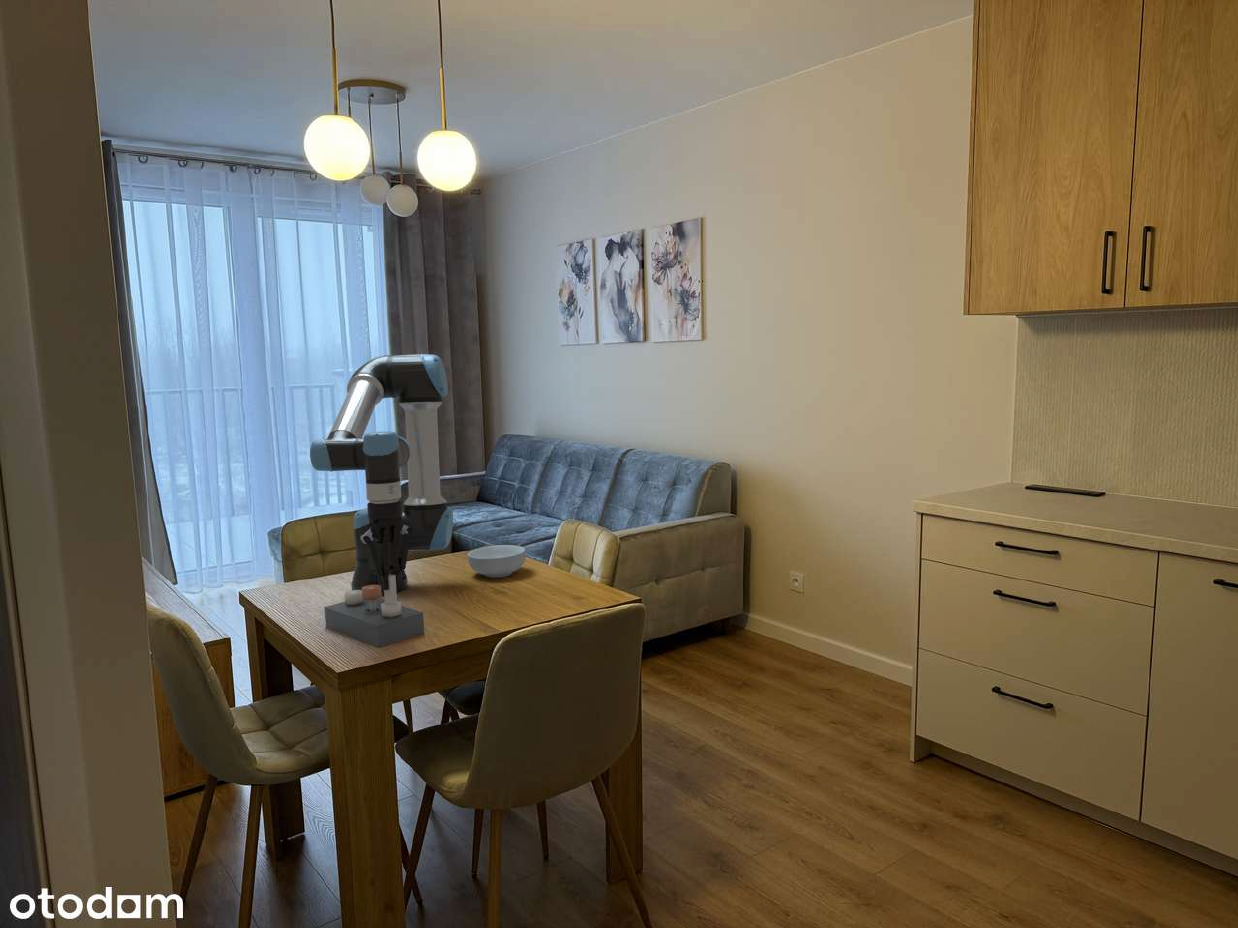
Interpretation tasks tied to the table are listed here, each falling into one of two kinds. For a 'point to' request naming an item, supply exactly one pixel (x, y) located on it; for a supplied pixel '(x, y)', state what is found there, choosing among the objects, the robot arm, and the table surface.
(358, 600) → the cream knob
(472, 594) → the table surface
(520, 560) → the cereal bowl
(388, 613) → the cream knob
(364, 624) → the knob panel
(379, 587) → the rust knob middle
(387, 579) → the robot arm
